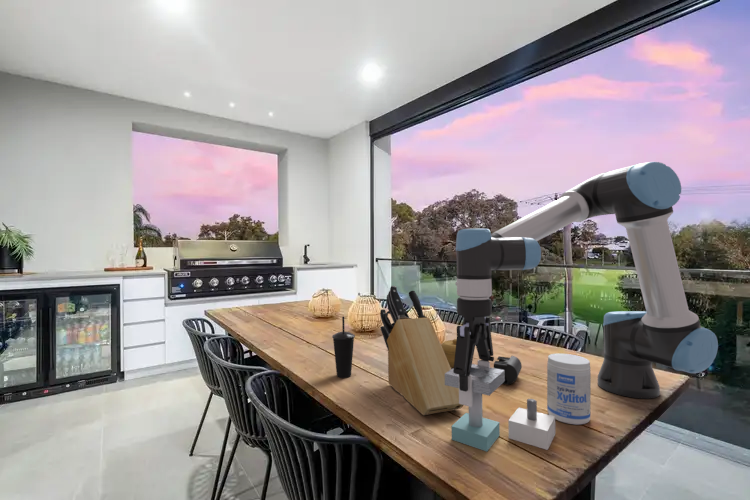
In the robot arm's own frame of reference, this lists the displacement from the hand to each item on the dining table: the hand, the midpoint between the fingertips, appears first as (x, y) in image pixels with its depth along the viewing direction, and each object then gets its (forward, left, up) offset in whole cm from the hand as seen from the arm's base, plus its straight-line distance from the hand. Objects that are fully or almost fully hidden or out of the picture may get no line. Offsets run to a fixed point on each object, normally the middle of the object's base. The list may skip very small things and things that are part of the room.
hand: (475, 396), depth 79 cm
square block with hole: (0, 0, +3) cm, 3 cm away
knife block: (+24, -14, -10) cm, 29 cm away
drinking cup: (+51, -12, -9) cm, 53 cm away
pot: (+24, -42, -10) cm, 49 cm away
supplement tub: (-15, -23, -10) cm, 29 cm away
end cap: (+5, -40, -10) cm, 41 cm away
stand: (-10, -8, -9) cm, 16 cm away
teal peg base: (0, 0, -9) cm, 9 cm away
